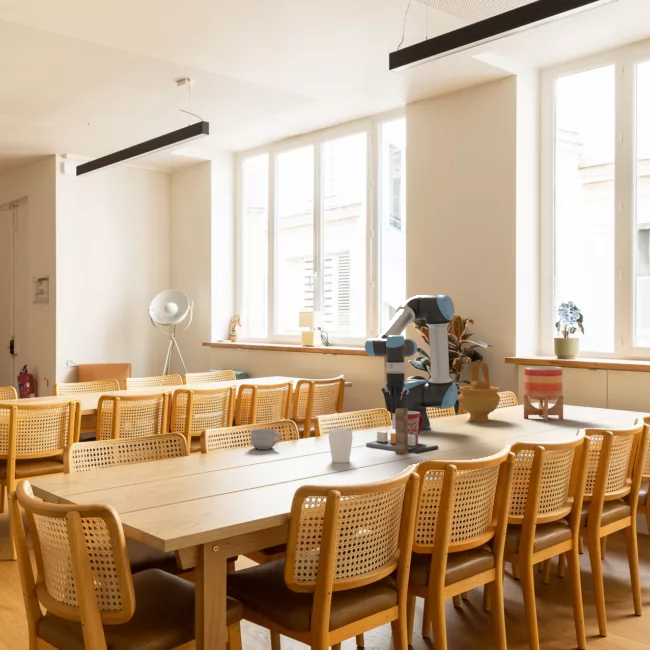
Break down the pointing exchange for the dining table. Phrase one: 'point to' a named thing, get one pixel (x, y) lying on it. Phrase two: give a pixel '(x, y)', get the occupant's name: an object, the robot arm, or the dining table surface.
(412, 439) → the cream rectangular box
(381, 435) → the paddle
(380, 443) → the switch plate
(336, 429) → the cup
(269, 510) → the dining table surface
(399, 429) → the post
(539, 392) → the planter
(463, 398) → the cactus in yellow pot
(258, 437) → the teacup
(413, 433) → the mug
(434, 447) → the dark grey rod
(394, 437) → the block
